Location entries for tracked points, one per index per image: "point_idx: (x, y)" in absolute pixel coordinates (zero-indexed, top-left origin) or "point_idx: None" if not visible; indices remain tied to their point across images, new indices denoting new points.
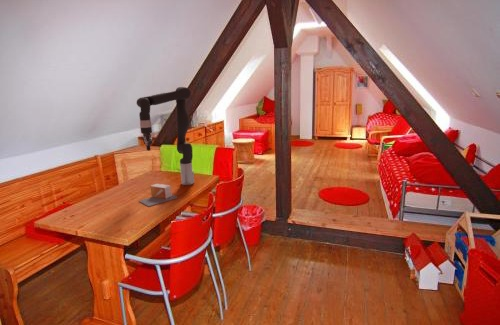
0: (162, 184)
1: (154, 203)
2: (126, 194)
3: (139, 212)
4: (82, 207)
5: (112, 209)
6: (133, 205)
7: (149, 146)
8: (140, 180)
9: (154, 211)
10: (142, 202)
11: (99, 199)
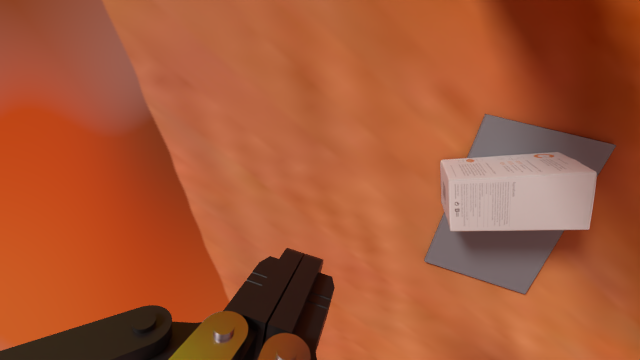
0: (513, 179)
1: (531, 264)
2: (295, 216)
3: (528, 342)
4: None
5: (392, 344)
6: (438, 297)
7: (312, 337)
8: (159, 31)
9: (594, 320)
10: (460, 272)
11: None
